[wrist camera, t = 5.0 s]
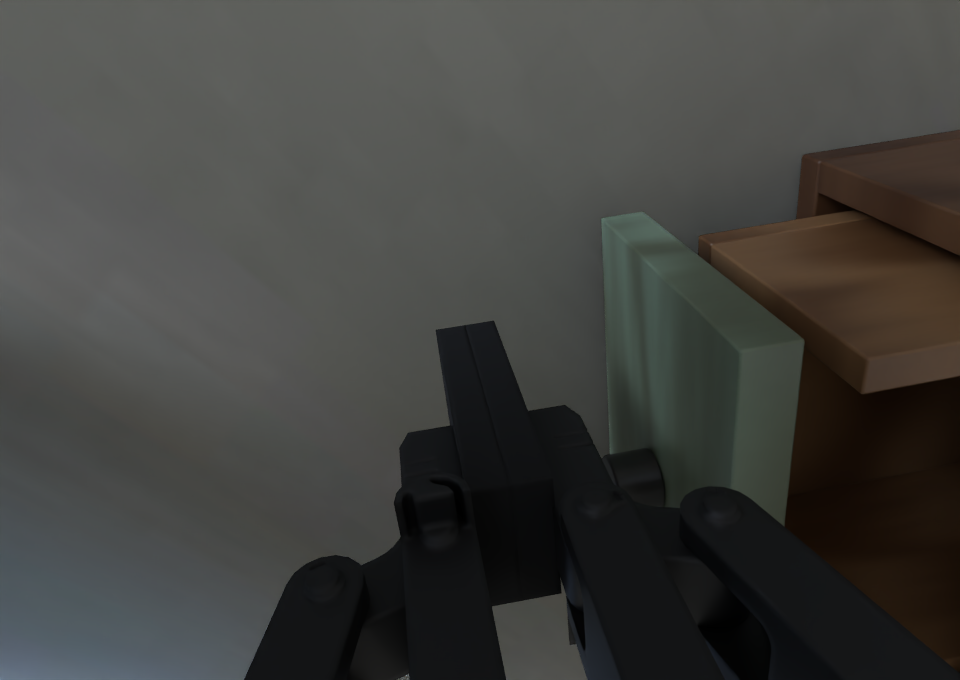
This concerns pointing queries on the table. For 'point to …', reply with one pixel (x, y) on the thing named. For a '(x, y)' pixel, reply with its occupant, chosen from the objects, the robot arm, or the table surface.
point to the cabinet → (890, 185)
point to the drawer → (799, 392)
